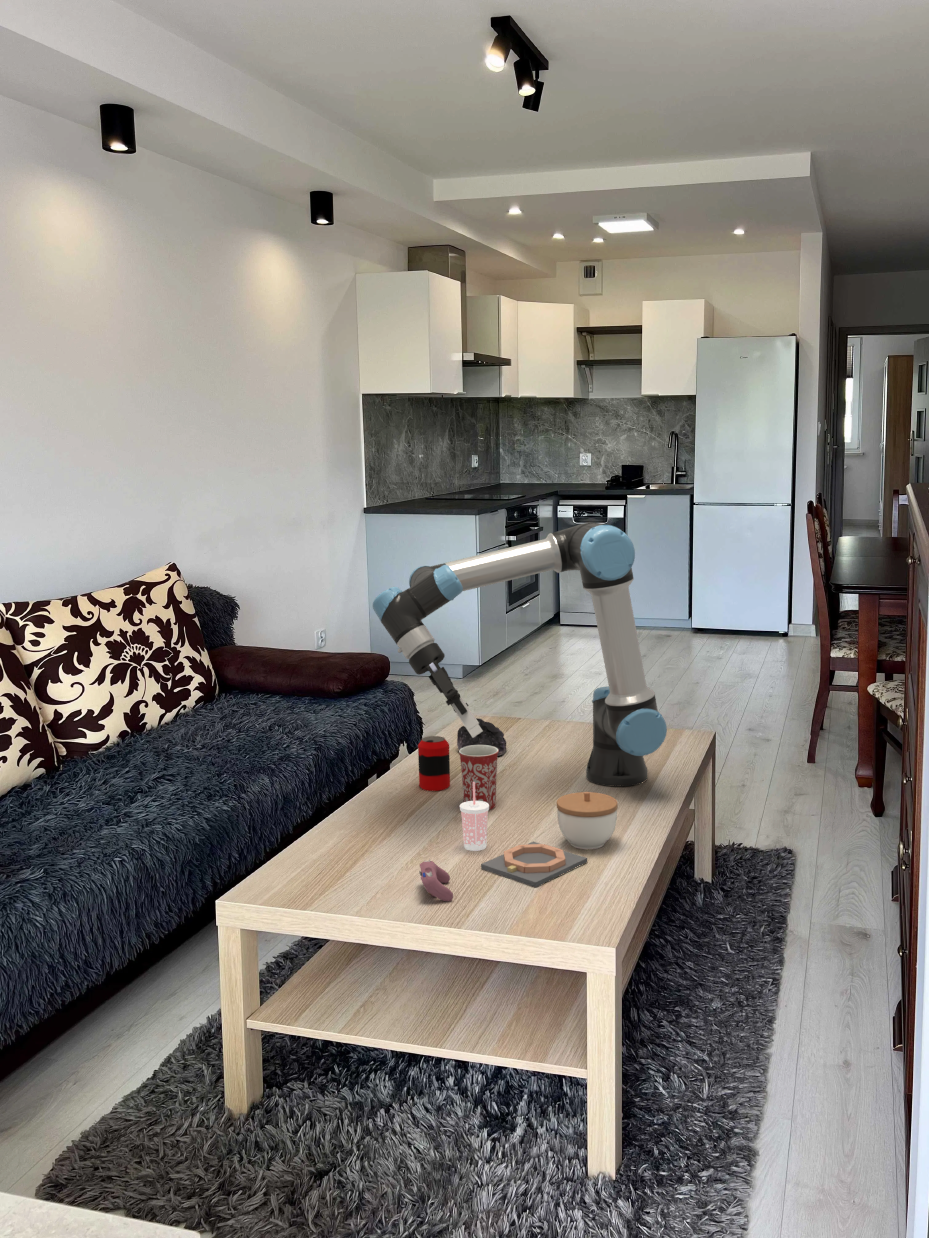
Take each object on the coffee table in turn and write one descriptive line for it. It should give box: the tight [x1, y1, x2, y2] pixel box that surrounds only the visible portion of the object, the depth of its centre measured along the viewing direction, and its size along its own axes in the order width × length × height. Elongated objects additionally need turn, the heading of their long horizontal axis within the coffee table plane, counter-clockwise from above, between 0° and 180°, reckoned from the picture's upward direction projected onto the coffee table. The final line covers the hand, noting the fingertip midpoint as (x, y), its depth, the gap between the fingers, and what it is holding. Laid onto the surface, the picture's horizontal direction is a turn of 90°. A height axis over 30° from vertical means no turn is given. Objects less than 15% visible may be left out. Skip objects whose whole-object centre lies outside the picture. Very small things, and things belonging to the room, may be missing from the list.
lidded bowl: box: [556, 791, 619, 850], centre depth 226 cm, size 13×13×11 cm
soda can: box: [417, 735, 451, 792], centre depth 266 cm, size 8×8×12 cm
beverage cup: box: [459, 782, 490, 852], centre depth 225 cm, size 6×6×14 cm
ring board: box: [480, 841, 588, 888], centre depth 215 cm, size 16×14×2 cm
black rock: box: [456, 717, 507, 757], centre depth 294 cm, size 13×14×10 cm
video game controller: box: [418, 858, 454, 902], centre depth 203 cm, size 10×5×7 cm, turn 5°
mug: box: [458, 745, 499, 811], centre depth 252 cm, size 13×9×14 cm
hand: (476, 730), depth 234 cm, fingers open, 13 cm apart
